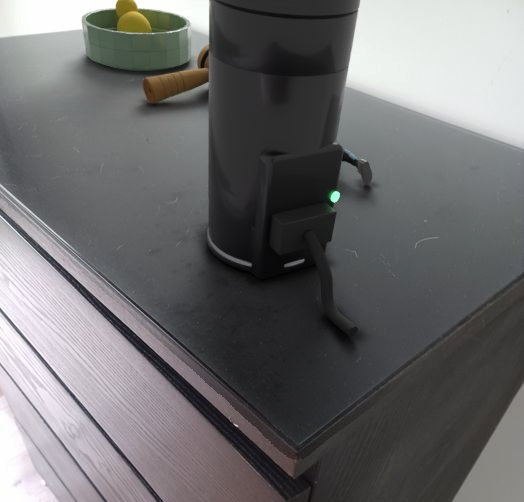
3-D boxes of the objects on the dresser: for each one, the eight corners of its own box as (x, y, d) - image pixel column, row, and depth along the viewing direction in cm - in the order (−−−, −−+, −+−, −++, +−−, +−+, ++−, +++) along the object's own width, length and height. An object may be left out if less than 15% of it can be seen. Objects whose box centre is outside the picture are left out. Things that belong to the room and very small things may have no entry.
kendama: (168, 126, 64) (288, 87, 70) (154, 69, 60) (283, 33, 67) (144, 116, 70) (257, 81, 76) (129, 63, 66) (250, 30, 72)
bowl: (207, 69, 78) (208, 30, 74) (106, 78, 72) (101, 36, 68) (167, 41, 87) (165, 6, 84) (74, 47, 81) (68, 9, 77)
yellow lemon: (159, 48, 79) (150, -8, 75) (127, 51, 77) (117, -7, 73) (143, 50, 84) (134, -3, 80) (112, 52, 82) (102, -2, 78)
